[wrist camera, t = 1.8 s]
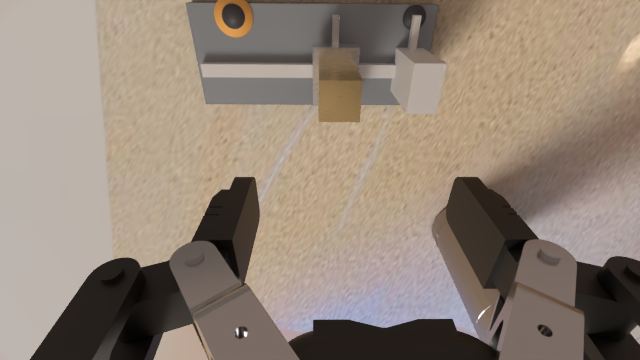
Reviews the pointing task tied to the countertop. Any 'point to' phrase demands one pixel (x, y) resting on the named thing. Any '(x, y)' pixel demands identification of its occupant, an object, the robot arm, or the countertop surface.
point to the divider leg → (337, 79)
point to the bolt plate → (297, 51)
